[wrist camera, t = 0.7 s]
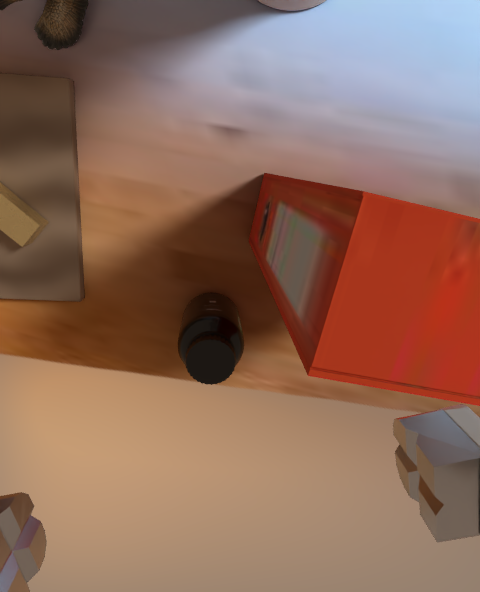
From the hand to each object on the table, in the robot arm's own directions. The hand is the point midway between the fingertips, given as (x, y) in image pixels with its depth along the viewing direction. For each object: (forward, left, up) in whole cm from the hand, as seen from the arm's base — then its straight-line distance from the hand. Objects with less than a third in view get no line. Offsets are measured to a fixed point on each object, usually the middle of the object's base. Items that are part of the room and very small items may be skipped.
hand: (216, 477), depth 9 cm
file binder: (-1, +13, -40) cm, 42 cm away
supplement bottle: (+11, 0, -40) cm, 41 cm away
